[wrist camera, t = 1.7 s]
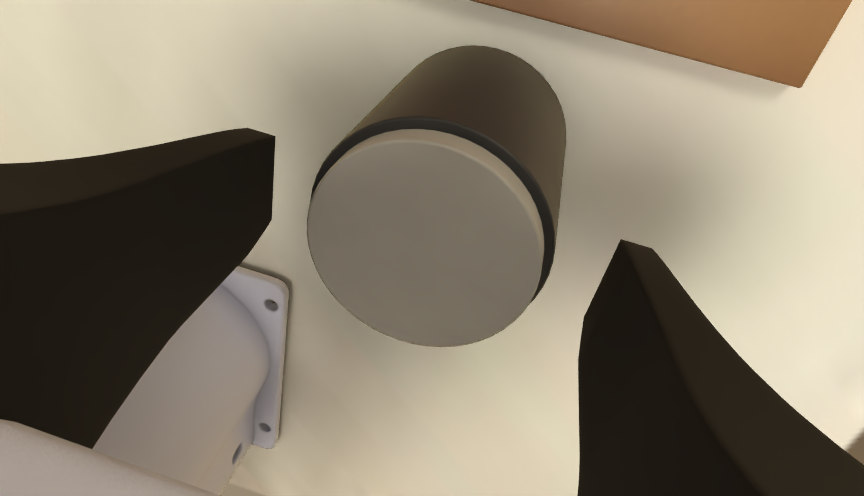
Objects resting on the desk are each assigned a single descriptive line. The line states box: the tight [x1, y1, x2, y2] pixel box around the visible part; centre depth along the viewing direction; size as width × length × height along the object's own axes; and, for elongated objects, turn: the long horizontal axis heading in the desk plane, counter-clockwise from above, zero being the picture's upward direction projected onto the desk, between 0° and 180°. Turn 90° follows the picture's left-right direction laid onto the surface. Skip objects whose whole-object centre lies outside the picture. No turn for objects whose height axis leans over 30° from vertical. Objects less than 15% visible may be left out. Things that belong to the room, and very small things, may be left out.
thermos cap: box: [307, 46, 566, 347], centre depth 13 cm, size 5×5×6 cm
